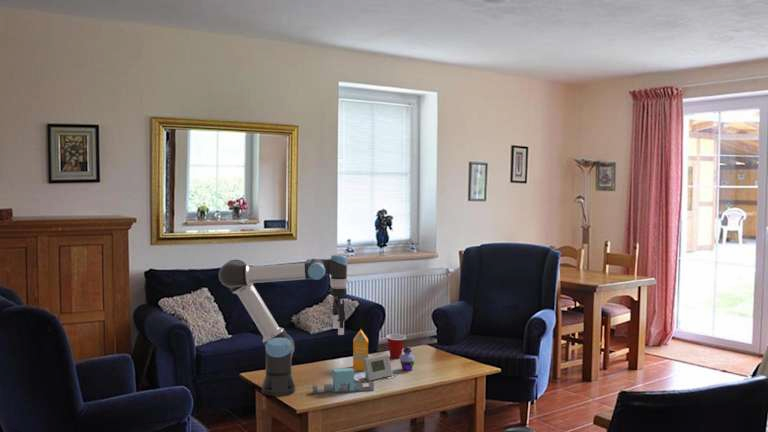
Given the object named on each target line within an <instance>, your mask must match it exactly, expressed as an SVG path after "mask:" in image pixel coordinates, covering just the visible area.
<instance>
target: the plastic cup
mask: <svg viewBox="0 0 768 432" xmlns="http://www.w3.org/2000/svg"><path fill="white" fill-rule="evenodd" d="M386 339H387V342H388V343H387V344H388V349H389V358H391V359H393V360H394V359H400V357H399V356H400V355H403V354H402V353H403V349H404V343H405V340H406V339H407V336H406V335H403V334H399V333H390V334H387V335H386Z"/></svg>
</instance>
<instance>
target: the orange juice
mask: <svg viewBox="0 0 768 432" xmlns="http://www.w3.org/2000/svg"><path fill="white" fill-rule="evenodd" d="M352 343H353V344H352V347H353V348H352V350H353V352H352V353H353V354H352V359H353V360H352V368H353V370H365V366H364V361H363V360H364V359H365V358H369V338H368V337H367V335H366V334H365V333H364V331H363V330H362V328H360V330H359V331H358V332H357V333H356V334H355V336H354V338H353V341H352Z"/></svg>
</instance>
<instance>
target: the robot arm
mask: <svg viewBox="0 0 768 432" xmlns="http://www.w3.org/2000/svg"><path fill="white" fill-rule="evenodd" d="M347 262H348V257H347V255H346V254H332V255H331V258H328V259H327V258H311V259H310V258H307V259H306V260H305V262H300V263H284V264H282V263H281V264H269V265H268V264H267V265H254V266H253V265H251V266H250V265H249V264H247V263H246V262H245V261H244V260H241V259H230V260H228V261H227V262H225V263H224V264H223V265H222V266H221V268H220V269H219V272H218V280H219V282H221V285H223V286H225V287H226V288H229V290H230V291H231V293H232V294H236V295H237V296H238V298H239V299H240V301H241V303H242V304H243V306H244V308H245V310H246V311H247V313H248V314H249V317H251V319H252V321H253V322H254V323H255V325H256V327H257V329H258V330H259V332H260V334H261V335H262V337H263V339H262V343H263V345H264V347H265V377H264V380H263V382H262V385H261V393H262V394H264V395H265V396H269V397H270V396H271V397H284V396H288V395H292V394H294V393H295V392H296V385H295V382H294V378H293V375H292V363H293V362H292V358H293V355H294V353H295V342H294V339H293V338H292V337H291V336H290V335H289V334H288V333H287V331H286V330H285V328H283V327H280V326H279V325H278V323H277V321H276V320H275V318H274V316H273V314H272V313H271V311H270V310H269V308H268V307H267V305H266V304H265V301H264V300H263V298H262V297H261V295H260V293H259V292H258V290H257V289H256V287H255V285H254V284H257V283H258V284H259V283H270V282H271V283H272V282H286V281H300V280H321V279H322V278H323V277H324V276H330V287H331V288H330V296H332V297H333V301H332V310H331V312H332V329H337V335H338V336H343V335H345V321H346V314H345V313H346V311H345V299H343V297H346V296H347V294H348V293H347V289H348V288H347V286H348V285H347V283H348V282H349V281H348V279H347V276H348V274H347V273H348V263H347Z"/></svg>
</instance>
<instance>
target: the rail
mask: <svg viewBox="0 0 768 432" xmlns="http://www.w3.org/2000/svg"><path fill="white" fill-rule="evenodd" d="M363 385H364V384H363V382H362V381H354V390H349V389H348V383H339V391H334V389H333V383H324V384H323V389H318V384H312V394H313V395H323V394H326V395H327V394H339V393H354V392H356V393H357V392H367V391H368V392H370V391H375V388H374V387H375V383H374V380H371V381H368V386H363Z"/></svg>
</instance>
